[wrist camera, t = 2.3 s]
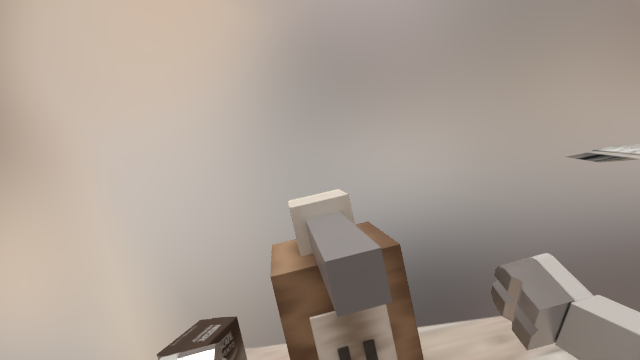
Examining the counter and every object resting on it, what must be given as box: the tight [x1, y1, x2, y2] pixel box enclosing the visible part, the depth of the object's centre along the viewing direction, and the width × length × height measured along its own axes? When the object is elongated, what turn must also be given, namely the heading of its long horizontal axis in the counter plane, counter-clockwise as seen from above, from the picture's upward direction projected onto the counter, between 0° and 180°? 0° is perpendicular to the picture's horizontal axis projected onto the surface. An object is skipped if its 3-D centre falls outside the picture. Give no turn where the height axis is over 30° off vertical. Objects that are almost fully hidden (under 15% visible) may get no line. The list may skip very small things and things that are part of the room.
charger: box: [288, 189, 392, 317], centre depth 33 cm, size 6×21×5 cm, turn 7°
